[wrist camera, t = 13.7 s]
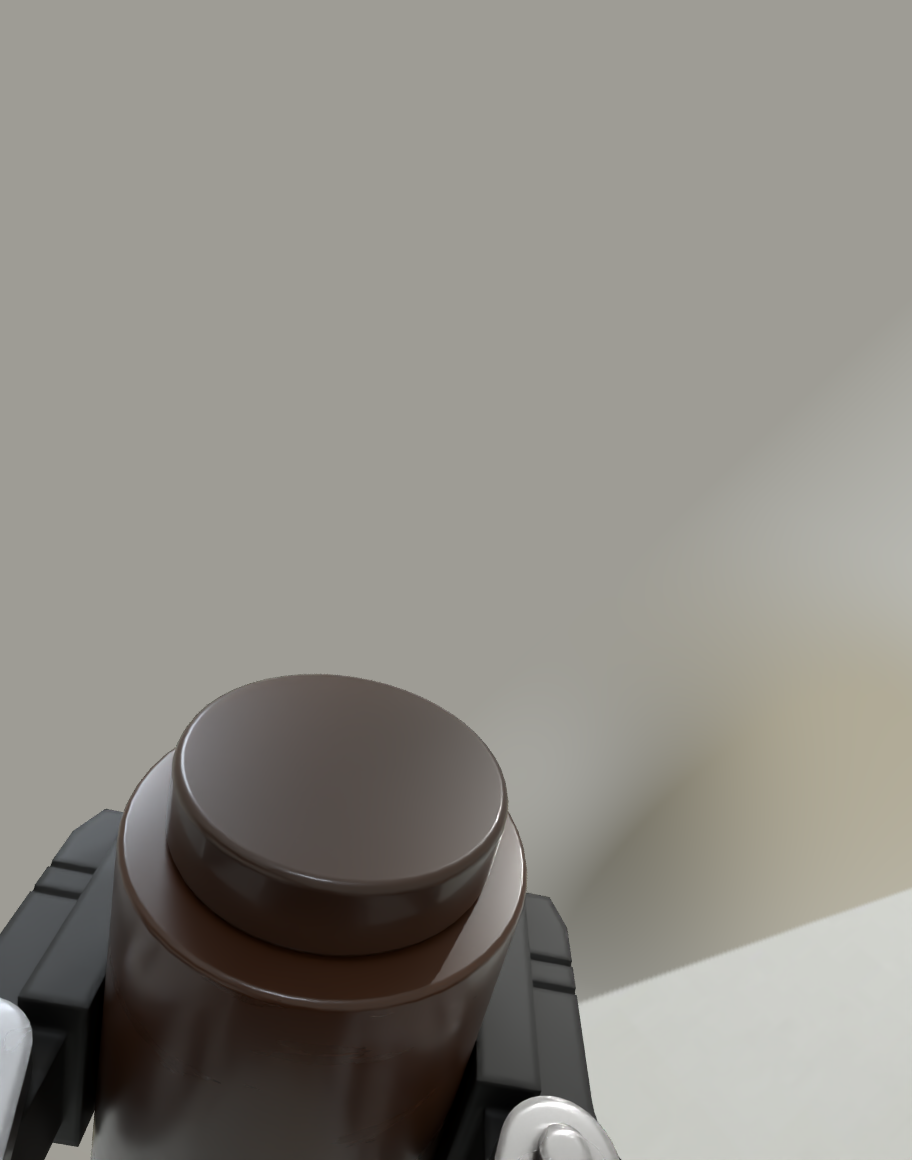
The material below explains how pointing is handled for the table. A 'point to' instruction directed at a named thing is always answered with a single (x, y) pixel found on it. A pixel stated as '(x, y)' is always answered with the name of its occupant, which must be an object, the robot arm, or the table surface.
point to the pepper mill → (304, 928)
